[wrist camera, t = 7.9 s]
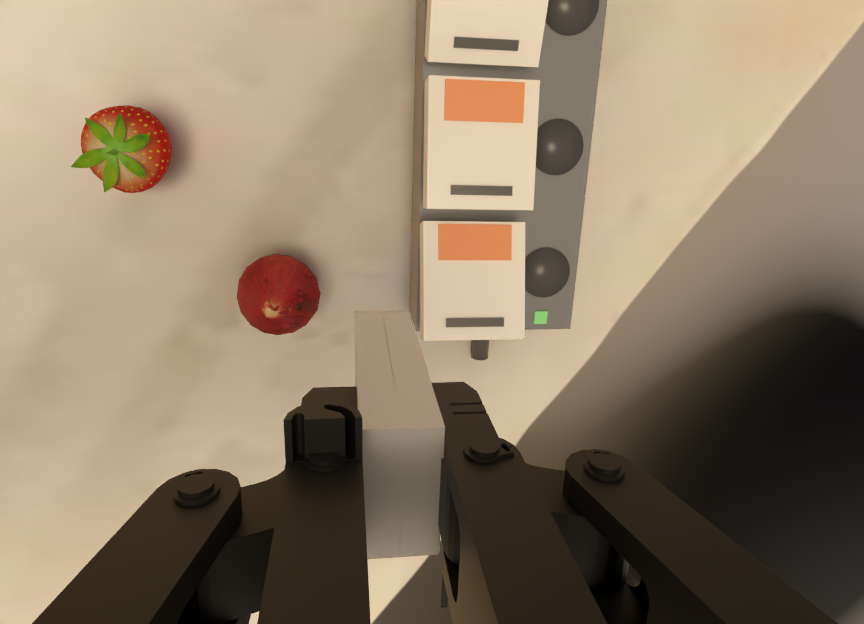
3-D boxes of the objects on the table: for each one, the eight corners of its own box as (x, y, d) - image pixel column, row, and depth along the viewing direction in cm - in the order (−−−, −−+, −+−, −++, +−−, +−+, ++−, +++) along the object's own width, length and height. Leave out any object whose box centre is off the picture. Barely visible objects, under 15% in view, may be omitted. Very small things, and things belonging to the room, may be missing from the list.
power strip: (408, 355, 50) (416, 385, 44) (418, -65, 40) (429, -95, 34) (544, 352, 51) (569, 381, 46) (585, -52, 42) (622, -78, 36)
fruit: (97, 117, 41) (41, 116, 33) (171, 99, 41) (131, 95, 34) (128, 192, 43) (81, 208, 35) (198, 175, 43) (166, 187, 35)
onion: (327, 253, 46) (323, 279, 38) (315, 321, 48) (309, 359, 40) (251, 239, 45) (231, 263, 37) (241, 309, 46) (221, 346, 39)
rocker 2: (422, 208, 39) (427, 208, 37) (424, 81, 37) (429, 74, 35) (524, 209, 40) (533, 210, 38) (530, 85, 38) (540, 79, 36)
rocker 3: (420, 337, 41) (423, 341, 39) (419, 223, 41) (423, 220, 39) (516, 336, 42) (525, 339, 40) (517, 224, 42) (525, 221, 40)
